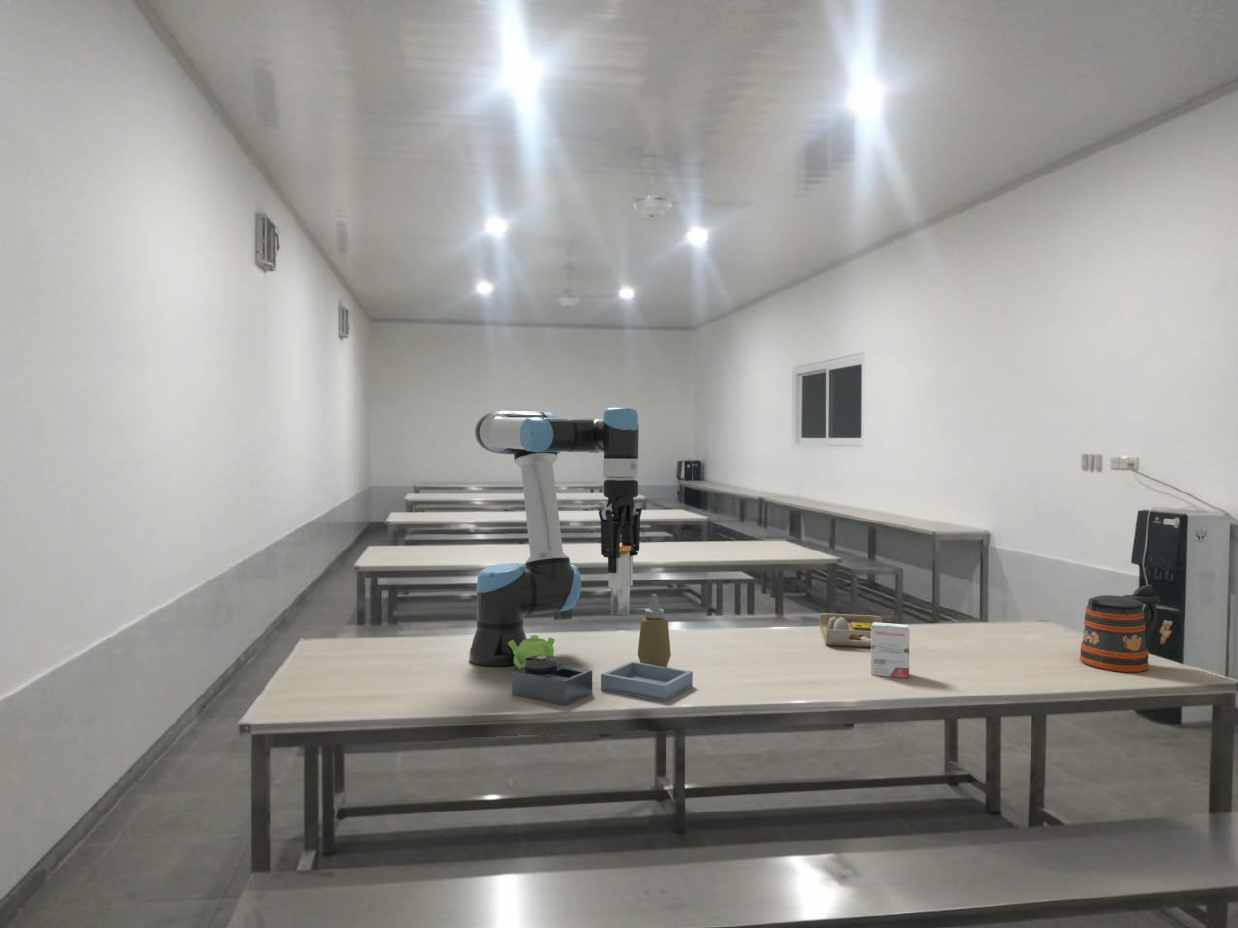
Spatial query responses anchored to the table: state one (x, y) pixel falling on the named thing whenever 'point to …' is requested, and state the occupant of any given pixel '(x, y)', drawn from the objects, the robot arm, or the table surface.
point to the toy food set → (847, 629)
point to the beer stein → (1119, 631)
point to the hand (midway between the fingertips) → (620, 586)
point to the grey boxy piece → (551, 681)
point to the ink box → (890, 650)
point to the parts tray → (647, 680)
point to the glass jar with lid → (622, 585)
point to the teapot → (531, 649)
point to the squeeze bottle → (654, 636)
